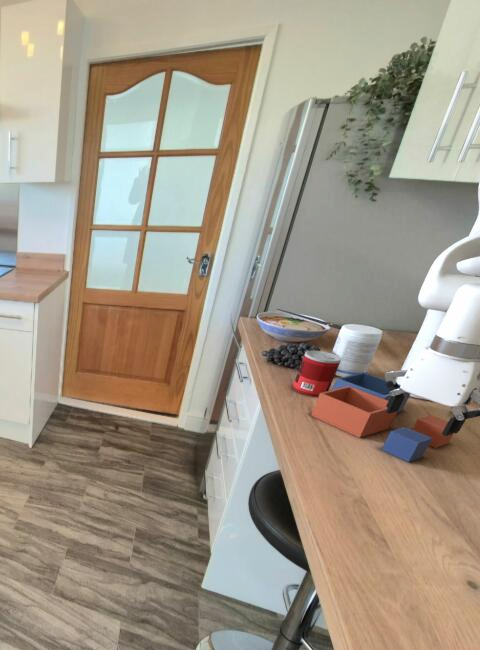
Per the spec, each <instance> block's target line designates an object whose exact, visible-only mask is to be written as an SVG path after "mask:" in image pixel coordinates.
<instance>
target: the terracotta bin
mask: <svg viewBox="0 0 480 650" xmlns="http://www.w3.org/2000/svg"><path fill="white" fill-rule="evenodd" d="M387 403H388V400H385V399H382V398H380V397H377V396H374V395H372V394H369V393H366V392H364V391H361V390H358V389H356V388H353V387H350V386H346V387H342V388H339V389H335V390H332V389H331V390H328V391H327V392H323V393H320V394H319V397H317V399H316V402H315V405H314V407H313V409H312V411H311V414H310V416H312V417H313V418H315V419H318V420H320V421H323V422H324V423H327V424H328V425H331V426H333V427H335V428H338V429H340V430H342V431H344V432H347V433H348V434H350V435H353V436H355V437H357V438H359V439H360V438H364V437H367V436H370V435H372V434H375V433H379V432H382V431H385V430H388V429H390V427H391V425H392V423H393V422H394V419H395V417H396V415H397V413H398V412H394V413H386V410H387V407H386V405H387Z"/></svg>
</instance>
